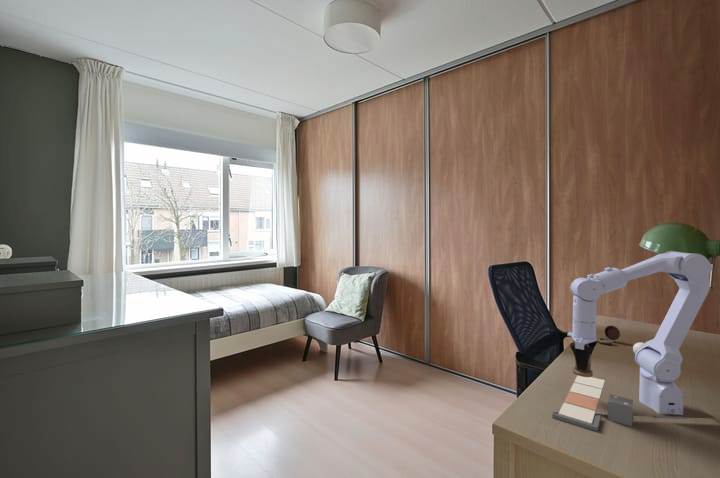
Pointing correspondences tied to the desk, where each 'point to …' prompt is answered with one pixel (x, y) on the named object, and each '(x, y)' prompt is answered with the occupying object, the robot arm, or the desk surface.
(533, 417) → the desk surface
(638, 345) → the seamed sphere
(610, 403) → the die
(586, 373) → the pawn
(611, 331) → the compass
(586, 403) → the board
